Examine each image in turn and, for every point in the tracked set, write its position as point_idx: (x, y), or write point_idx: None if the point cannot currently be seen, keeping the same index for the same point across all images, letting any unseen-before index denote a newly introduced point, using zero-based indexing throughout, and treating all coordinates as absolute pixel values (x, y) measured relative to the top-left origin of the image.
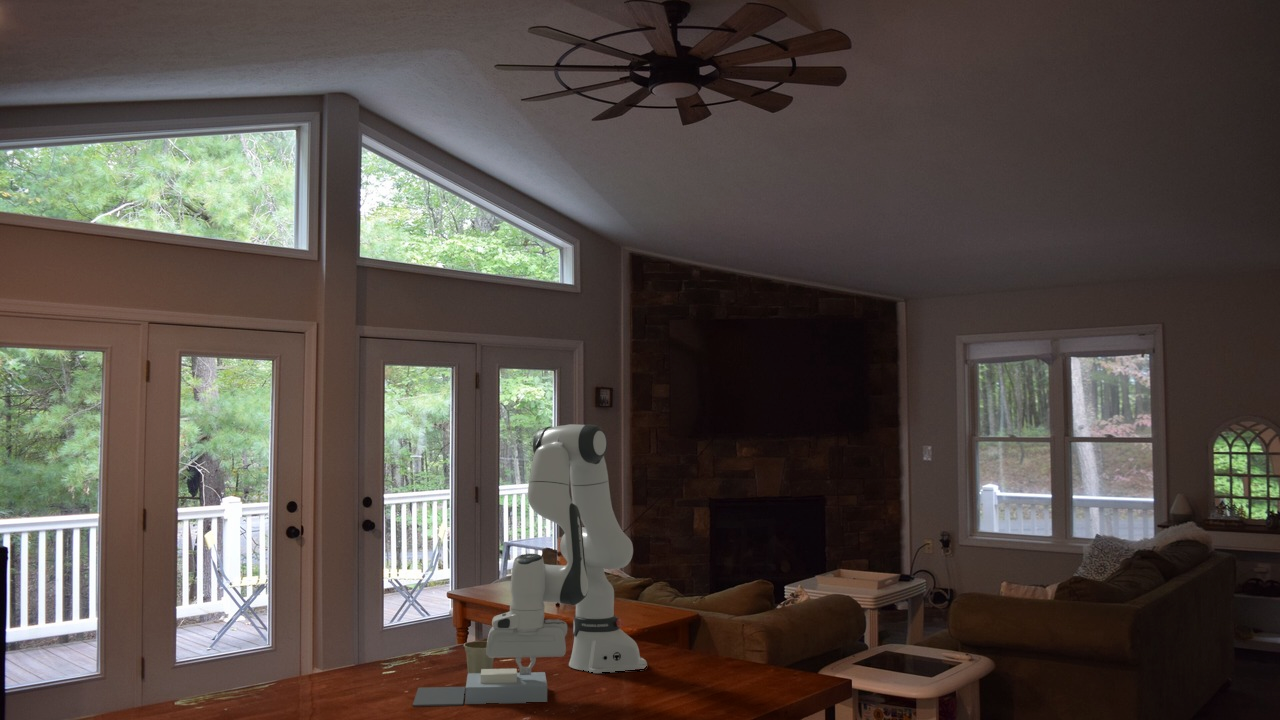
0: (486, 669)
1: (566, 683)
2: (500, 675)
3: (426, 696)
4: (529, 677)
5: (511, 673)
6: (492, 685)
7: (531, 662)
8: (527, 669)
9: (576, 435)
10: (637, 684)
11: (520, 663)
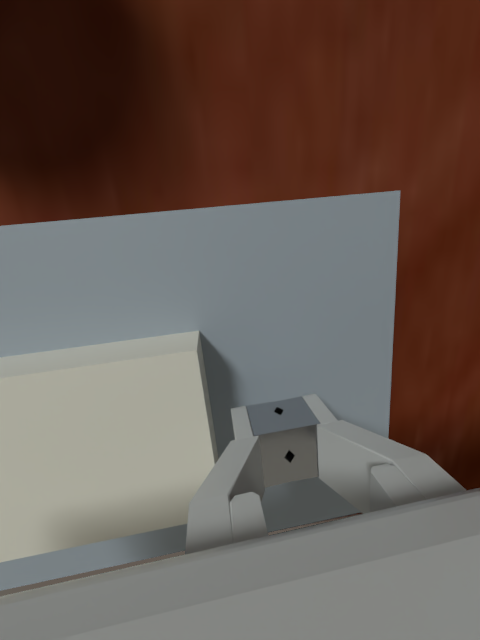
0: None
1: (457, 108)
2: (99, 536)
3: None
4: (290, 350)
5: (177, 504)
6: (84, 545)
7: (365, 483)
8: (303, 469)
9: None
10: None
11: (248, 481)
